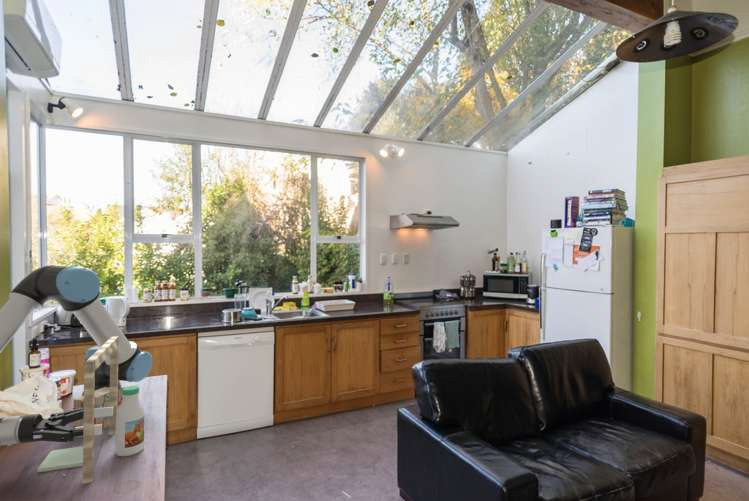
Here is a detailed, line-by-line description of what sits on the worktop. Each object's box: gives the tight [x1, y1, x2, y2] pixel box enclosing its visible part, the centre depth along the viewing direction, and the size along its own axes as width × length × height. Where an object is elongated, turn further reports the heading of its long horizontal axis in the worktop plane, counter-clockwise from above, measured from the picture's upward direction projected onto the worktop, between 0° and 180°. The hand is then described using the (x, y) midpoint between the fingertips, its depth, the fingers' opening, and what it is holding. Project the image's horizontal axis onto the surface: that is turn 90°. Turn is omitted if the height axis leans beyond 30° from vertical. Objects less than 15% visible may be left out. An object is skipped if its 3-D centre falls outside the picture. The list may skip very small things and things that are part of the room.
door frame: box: [82, 336, 119, 485], centre depth 127 cm, size 32×2×33 cm, turn 21°
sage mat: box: [36, 445, 83, 473], centre depth 124 cm, size 11×11×1 cm
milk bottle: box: [115, 385, 145, 457], centre depth 130 cm, size 8×8×20 cm
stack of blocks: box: [72, 386, 126, 430], centre depth 149 cm, size 21×6×12 cm, turn 165°
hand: (107, 419), depth 127 cm, fingers open, 13 cm apart
